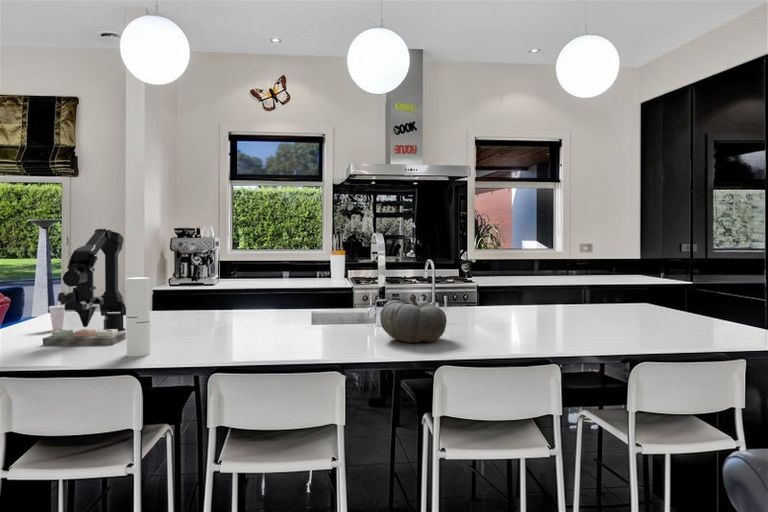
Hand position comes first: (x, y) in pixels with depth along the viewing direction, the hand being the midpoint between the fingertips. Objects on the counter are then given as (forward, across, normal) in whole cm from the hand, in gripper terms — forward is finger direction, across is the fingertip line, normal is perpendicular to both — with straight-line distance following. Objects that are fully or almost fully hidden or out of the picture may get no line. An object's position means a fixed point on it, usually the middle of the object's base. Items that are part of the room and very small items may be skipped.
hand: (85, 326), depth 210 cm
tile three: (+6, 0, +8) cm, 10 cm away
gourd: (+6, +2, +120) cm, 120 cm away
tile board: (+6, 0, 0) cm, 6 cm away
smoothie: (+6, -28, -23) cm, 37 cm away
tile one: (+6, 0, 0) cm, 6 cm away
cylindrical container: (+6, +23, +27) cm, 36 cm away
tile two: (+6, 0, -8) cm, 10 cm away
